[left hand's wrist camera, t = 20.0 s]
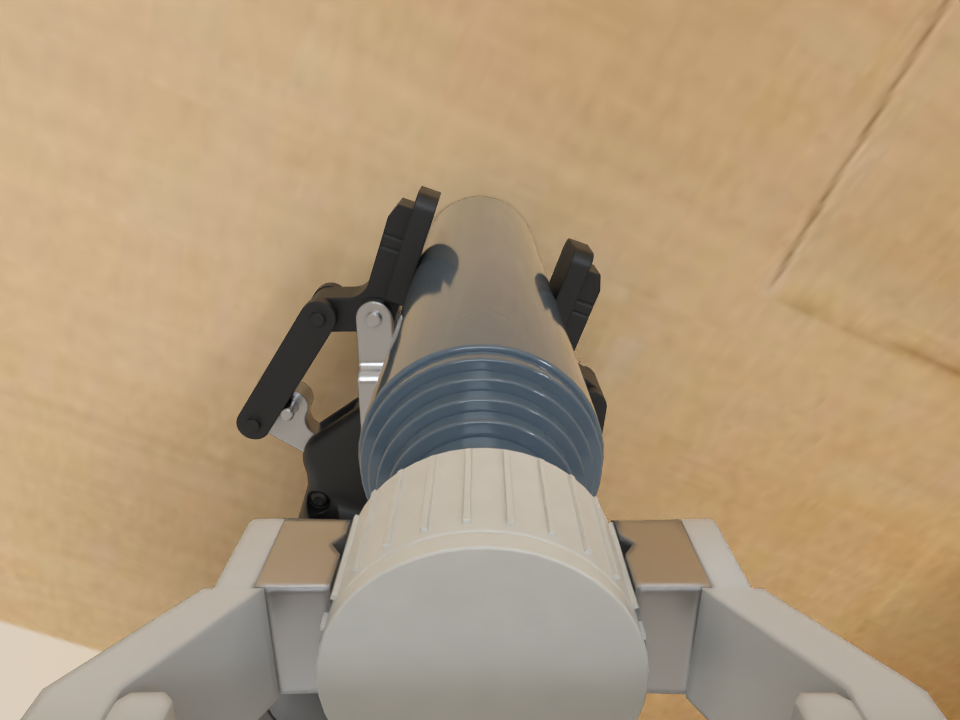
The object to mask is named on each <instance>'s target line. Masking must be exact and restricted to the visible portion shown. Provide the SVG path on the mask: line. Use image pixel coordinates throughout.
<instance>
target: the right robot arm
mask: <svg viewBox="0 0 960 720" xmlns="http://www.w3.org/2000/svg"><path fill="white" fill-rule="evenodd" d="M440 195H441V192H438V191H435V190H432V189H429V188H427V187H424V186H422V187H421V188H420V190H419V192H418V195H417V198H416V201H415V202H414V201H411V200H408V199H405V198H402V199H401V201H400V202H399V203H398V204H397V206H396V207H395V208H394V209H393V211H392V212H391V213H390V215H389V216H388V219H387V222H386V226H385V229H384V232H383V236H382V239H381V242H380V246H379V249H378V253H377V256H376V259H375V263H374V266H373V269H372V273H371V276H370V280H369V281H368V282H367V283H366V284H364V285H362V286H358V287H342V286H340V285H339V284H336V283H326V284H323V285H322V286H320V287H319V289H318V290H317V291H316V292H315V294H314V296H313V297H312V299H311V300H310V301H309V302H308V303H307V304H306V305H305V306H304V307H303V309H302V310H301V312H300V314H299V315H298V317H297V319H296V320H295V322H294V324H293V325H292V327H291V329H290V330H289V332H288V334H287V335H286V337H285V339H284V340H283V342H282V344H281V345H280V347H279V349H278V350H277V352H276V354H275V355H274V357H273V359H272V360H271V362H270V364H269V365H268V367H267V369H266V370H265V372H264V374H263V375H262V377H261V379H260V380H259V382H258V384H257V386H256V387H255V389H254V391H253V392H252V394H251V396H250V397H249V399H248V401H247V402H246V404H245V406H244V407H243V409H242V411H241V412H240V414H239V416H238V418H237V427H238V430H239V431H240V432H241V433H242V434H243V435H244V436H246V437H247V438H250V439H261V438H263V437H265V436H266V435H267V434H268V433H270V434H271V435H273V436H275V437H277V438H279V439H280V440H282V441H284V442H286V443H288V444H290V445H291V446H293V447H295V448H297V449H299V450H300V451H302V452H303V462H304V466H305V469H306V472H307V476H308V487H307V491H306V494H305V497H304V501H303V504H302V508H301V511H300V514H299V518H298V519H341V520H353V518H354V516H355V515H360V513H361V511H362V509H363V507H364V506H365V504H366V503H367V502H368V499H367V497H366V494H365V491H364V488H363V484H362V478H361V472H360V465H359V438H360V432H361V428H362V425H363V421H364V418H365V415H366V412H367V409H368V407H369V404H370V401H371V398H372V395H373V392H374V389H375V386H376V383H377V380H378V378H379V375H380V372H381V369H382V366H383V363H384V360H385V357H386V354H387V352H388V349H389V346H390V343H391V340H392V337H393V334H394V331H395V328H396V325H397V323H398V320H399V317H400V305H401V306H403V305H404V302H405V299H406V297H407V294H408V291H409V288H410V285H411V282H412V279H413V276H414V274H415V272H416V269H417V266H418V263H419V260H420V257H421V254H422V251H423V248H424V245H425V242H426V238H427V235H428V232H429V229H430V226H431V223H432V220H433V217H434V213H435V210H436V207H437V204H438V201H439V198H440ZM593 257H594V254H593V252H592V251H591V249H590V248H589V246H588V245H586V244H584V243H581V242H578V241H575V240H572V239H568V240H567V241H566V243H565V245H564V247H563V249H562V252H561V255H560V257H559V260H558V262H557V265H556V267H555V270H554V272H553V275H552V277H551V280H550V282H549V284H550V287H551V290H552V292H553V295H554V298H555V301H556V303H557V306H558V309H559V312H560V315H561V317H562V320H563V323H564V326H565V328H566V331H567V334H568V337H569V340H570V342H571V345H572V348H573V351H574V350H575V348H576V346H577V343H578V341H579V339H580V336H581V334H582V332H583V329H584V327H585V325H586V322H587V320H588V317H589V315H590V313H591V311H592V308H593V305H594V304H595V301H596V299H597V297H598V294H599V292H600V274H599V272H598V271H597V269H596V268H595V266H594V265H592V262H593ZM342 331H357V339H358V354H359V371H358V392H359V397H358V398H356V399H355V400H353V401H352V402H350V403H349V404H347V405H346V406H344V407H343V408H341V409H340V410H338V411H337V412H335V413H334V414H332V415H331V416H329V417H328V418H326V419H325V420H323V421H322V422H320V423H319V422H317V421H316V420H315V419H314V418H313V416H312V414H311V404H312V402H313V399H314V396H313V392H312V390H311V388H310V387H309V386H308V385H307V384H305V383H303V382H301V380H302V378H303V377H304V375H305V373H306V372H307V370H308V368H309V367H310V365H311V364H312V362H313V360H314V359H315V357H316V356H317V354H318V352H319V351H320V349H321V348H322V346H323V344H324V343H325V341H326V340H327V338H328V336H329V335H330V333H331V332H342ZM578 365H579V367H580V370H581V373H582V376H583V378H584V381H585V384H586V387H587V390H588V392H589V395H590V398H591V401H592V403H593V406H594V409H595V412H596V415H597V417H598V421H599V424H600V427H601V431H602V432H603V426H604V420H605V414H606V408H607V405H606V401H605V398H604V396H603V393H602V391H601V388H600V386H599V383H598V381H597V378H596V376H595V374H594V372H593V371H592V370H591V369H590V368H588V367H586V366H582V365H581V364H579V363H578ZM259 720H328V719H327V717H326V715H325V713H324V710H323V707H322V704H321V701H320V698H319V694H318V693H304V694H279V699H278V700H277V701H276V702H275V703H274V704H273V705H272V706H271V707H270V708H269V709H268V710H267V711H266V712H265V713H264V714H263V716H262V717H261V718H260V719H259Z"/></svg>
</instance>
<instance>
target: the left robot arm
mask: <svg viewBox="0 0 960 720" xmlns="http://www.w3.org/2000/svg"><path fill="white" fill-rule="evenodd" d="M352 522H353V520H341V519H294V518H289V519H285V518H255V519H254V520H252V521H250V522H249V523H248V525H247V527H246V529H245V531H244V533H243V534H242V536H241V538H240V540H239V542H238V544H237V546H236V547H235V549H234V551H233V553H232V555H231V557H230V559H229V560H228V562H227V564H226V566H225V568H224V570H223V572H222V573H221V575H220V577H219V579H218V581H217V583H216V585H215V586H214V588H203V589H201V590H200V591H198V592H197V593H195V594H194V595H192V596H190V597H189V598H187V599H186V600H184V601H182V602H181V603H179V604H178V605H176V606H174V607H173V608H171V609H170V610H168V611H166V612H165V613H163V614H162V615H160V616H158V617H157V618H155V619H154V620H152V621H151V622H149V623H147V624H146V625H144V626H143V627H141V628H139V629H138V630H136V631H135V632H133V633H131V634H130V635H128V636H127V637H125V638H123V639H122V640H120V641H119V642H117V643H116V644H114V645H112V646H111V647H109V648H108V649H106V650H104V651H103V652H101V653H100V654H98V655H96V656H95V657H93V658H92V659H90V660H88V661H87V662H85V663H84V664H82V665H81V666H79V667H77V668H76V669H74V670H73V671H71V672H69V673H68V674H66V675H65V676H63V677H61V678H60V679H58V680H57V681H55V682H53V683H52V684H50V685H49V686H47V687H45V688H44V689H43V690H42V691H41V692H40V694H39V695H38V696H37V698H36V699H35V700H34V702H33V703H32V705H31V706H30V707H29V709H28V710H27V711H26V713H25V714H24V715H23V717H22V718H21V720H259V719H260V718H261V717H262V716H263V714H264V713H265V712H266V711H267V710H268V709H269V708H270V707H271V706H272V705H273V704H274V703H275V702H276V701H277V700H278V699H279V694H304V693H318V688H317V682H316V660H317V655H318V650H319V645H320V641H321V638H322V634H323V631H320V625H321V622H322V618H323V615H324V612H326V613H329V610H330V607H331V604H332V601H333V600H331V599H330V596H331V593H332V590H333V586H334V583H335V579H336V576H337V573H338V569H339V566H340V562H341V559H342V556H343V552H344V549H345V545H346V542H347V539H348V535H349V532H350V529H351V525H352ZM611 522H613V524H614V527H615V530H616V534H617V537H618V540H619V543H620V547H621V550H622V553H623V557H624V560H625V563H626V566H627V570H628V573H629V576H630V579H631V583H632V586H633V589H634V592H635V596H636V599H637V602H638V606H639V608H636V609H635V612H636V615H637V619H638V621H642V623H643V627H644V630H645V633H646V640H644V642H645V646H646V650H647V653H648V662H649V681H648V689H647V693H660V694H686V698H687V699H688V700H689V701H690V702H691V703H692V704H693V705H694V706H695V707H696V708H697V709H698V710H699V711H700V712H701V713H702V715H703V716H704V717H705V718H706V719H707V720H947V719H946V717H945V716H944V714H943V713H942V712H941V710H940V709H939V708H938V706H937V705H936V704H935V702H934V701H933V700H932V698H931V697H930V696H929V694H928V693H927V692H926V690H924V689H923V688H921V687H919V686H918V685H916V684H915V683H913V682H911V681H910V680H908V679H907V678H905V677H903V676H902V675H900V674H899V673H897V672H895V671H894V670H892V669H891V668H889V667H887V666H886V665H884V664H883V663H881V662H879V661H878V660H876V659H875V658H873V657H871V656H870V655H868V654H867V653H865V652H864V651H862V650H860V649H859V648H857V647H856V646H854V645H852V644H851V643H849V642H848V641H846V640H844V639H843V638H841V637H840V636H838V635H836V634H835V633H833V632H832V631H830V630H828V629H827V628H825V627H824V626H822V625H820V624H819V623H817V622H816V621H814V620H812V619H811V618H809V617H808V616H806V615H804V614H803V613H801V612H800V611H798V610H796V609H795V608H793V607H792V606H790V605H788V604H787V603H785V602H784V601H782V600H780V599H779V598H777V597H776V596H774V595H772V594H771V593H769V592H768V591H766V590H764V589H763V588H752V587H751V585H750V583H749V582H748V580H747V578H746V576H745V574H744V573H743V571H742V569H741V567H740V565H739V564H738V562H737V560H736V558H735V556H734V555H733V553H732V551H731V549H730V547H729V546H728V544H727V542H726V540H725V538H724V537H723V535H722V533H721V531H720V529H719V528H718V526H717V524H716V522H715V521H714V520H712V519H711V518H689V519H677V520H617V521H611Z"/></svg>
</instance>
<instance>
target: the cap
mask: <svg viewBox="0 0 960 720" xmlns="http://www.w3.org/2000/svg"><path fill="white" fill-rule="evenodd" d="M330 599H331V600H333V601H332V604H331V607H330V610H329V613H326V612H324V615H323V618H322V622H321V625H320V631H323V634H322V638H321V641H320V645H319V650H318V655H317V660H316V682H317V688H318V694H319V698H320V701H321V704H322V707H323V710H324V713H325V715H326V717H327V719H328V720H637V719H638V717H639V714H640V712H641V710H642V707H643V705H644V701H645V697H646V693H647V689H648V681H649V662H648V653H647V650H646V646H645V642H644V640H646V633H645V630H644V627H643V623H642V621H638V619H637V615H636V612H635V609H636V608H639V606H638V602H637V599H636V596H635V592H634V589H633V586H632V583H631V579H630V576H629V573H628V570H627V566H626V563H625V560H624V557H623V553H622V550H621V547H620V543H619V540H618V537H617V534H616V530H615V527H614V524H613V522H611V523H608V520H607V518H606V516H605V514H604V512H603V510H602V509H601V506H600V503H599V499H598V498H597V497H596V496H595V497H593V496H592V495H591V494H590V493H589V492H588V491H587V489H586V488H585V487H584V486H583V485H581V484H580V483H579V482H578V481H577V480H575V477H574V476H573V475H572V474H570V475H569V474H567V473H566V472H564V471H563V470H561V469H560V468H558V467H556V466H555V465H552V464H550V463H548V462H546V461H544V460H543V459H541V458H537V457H534V456H531V455H527V454H524V453H521V452H516V451H511V450H506V449H495V448H467V449H460V450H453V451H448V452H444V453H441V454H437V455H432V456H430V457H428V458H425V459H423V460H420V461H418V462H415V463H414V464H412V465H410V466H408V467H407V468H405V469H401V470H399V471H398V472H397V474H395V475H394V476H393V477H391V478H390V479H389V480H387V481H386V482H385V483H384V484H383V485H382V486H381V487H380V488H379V489H378V490H374V491H373V492H372V493H371V497H370V499H369V500H368V502H367V503H366V504H365V506H364V507H363V509H362V511H361V513H360V515H355V516H354V518H353V522H352V525H351V529H350V532H349V535H348V539H347V542H346V545H345V549H344V552H343V556H342V559H341V562H340V566H339V569H338V573H337V576H336V579H335V583H334V586H333V590H332V593H331V596H330Z"/></svg>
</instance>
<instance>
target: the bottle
mask: <svg viewBox="0 0 960 720" xmlns="http://www.w3.org/2000/svg"><path fill="white" fill-rule="evenodd" d="M467 448H495V449H506V450H511V451H516V452H521V453H524V454H527V455H531V456H534V457H537V458H541V459H543V460H544V461H546V462H548V463H550V464H552V465H555V466H556V467H558V468H560V469H561V470H563V471H564V472H566V473H567V474H569V475H570V474H572V475H573V476H574V477H575V480H577V481H578V482H579V483H580V484H581V485H583V486H584V487H585V488H586V489H587V491H588V492H589V493H590V494H591V495H592V496H593V497H595V496H596V495H597V491H598V488H599V485H600V479H601V473H602V465H603V454H604V444H603V437H602V431H601V427H600V424H599V421H598V417H597V415H596V412H595V409H594V406H593V403H592V401H591V398H590V395H589V392H588V390H587V387H586V384H585V381H584V378H583V376H582V373H581V370H580V367H579V365H578V362H577V359H576V356H575V353H574V351H573V348H572V345H571V342H570V340H569V337H568V334H567V331H566V328H565V326H564V323H563V320H562V317H561V315H560V312H559V309H558V306H557V303H556V301H555V298H554V295H553V292H552V290H551V287H550V284H549V281H548V278H547V276H546V273H545V270H544V267H543V265H542V262H541V259H540V256H539V253H538V251H537V248H536V245H535V242H534V240H533V237H532V234H531V231H530V229H529V227H528V225H527V223H526V221H525V220H524V218H523V217H522V216H521V215H520V213H519V212H518V211H516V210H515V209H514V208H513V207H512V206H510V205H509V204H507V203H505V202H503V201H501V200H498V199H495V198H491V197H485V196H475V197H468V198H464V199H461V200H459V201H456V202H454V203H452V204H451V205H449V206H448V207H447V208H445V209H444V210H443V211H442V212H441V213H440V214H439V215H438V216H437V218H436V219H435V221H434V222H433V224H432V226H431V228H430V230H429V233H428V236H427V239H426V242H425V245H424V248H423V251H422V254H421V257H420V260H419V263H418V266H417V269H416V272H415V274H414V276H413V279H412V282H411V285H410V288H409V291H408V294H407V297H406V299H405V302H404V305H403V308H402V311H401V314H400V317H399V320H398V323H397V325H396V328H395V331H394V334H393V337H392V340H391V343H390V346H389V349H388V352H387V354H386V357H385V360H384V363H383V366H382V369H381V372H380V375H379V378H378V380H377V383H376V386H375V389H374V392H373V395H372V398H371V401H370V404H369V407H368V409H367V412H366V415H365V418H364V421H363V425H362V428H361V432H360V438H359V465H360V472H361V478H362V484H363V488H364V491H365V494H366V497H367V499H368V500H369V499H370V497H371V493H372V492H373V491H374V490H378V489H379V488H380V487H381V486H382V485H383V484H384V483H385V482H386V481H387V480H389V479H390V478H391V477H393V476H394V475H395V474H397V472H398V471H399V470H401V469H405V468H407V467H408V466H410V465H412V464H414V463H415V462H418V461H420V460H423V459H425V458H428V457H430V456H432V455H437V454H441V453H444V452H448V451H453V450H460V449H467Z"/></svg>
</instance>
